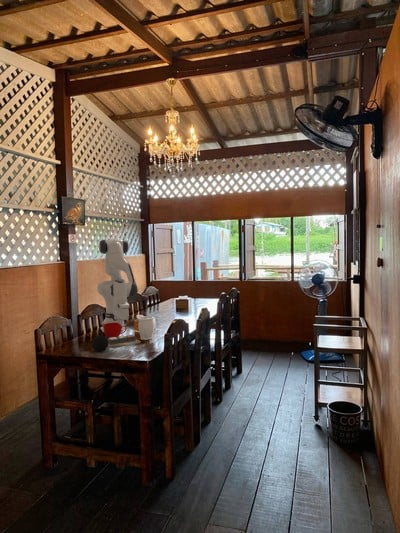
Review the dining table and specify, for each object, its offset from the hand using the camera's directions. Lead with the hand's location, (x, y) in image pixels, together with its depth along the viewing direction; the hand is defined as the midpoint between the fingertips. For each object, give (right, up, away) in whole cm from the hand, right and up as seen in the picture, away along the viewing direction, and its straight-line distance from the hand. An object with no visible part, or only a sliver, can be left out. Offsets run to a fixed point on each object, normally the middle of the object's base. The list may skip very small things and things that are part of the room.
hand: (120, 324), depth 260 cm
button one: (-4, -12, -3) cm, 13 cm away
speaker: (-9, -15, -17) cm, 24 cm away
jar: (+15, -12, +13) cm, 24 cm away
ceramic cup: (-7, -13, +17) cm, 22 cm away
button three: (+6, -11, +3) cm, 13 cm away
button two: (+1, -11, 0) cm, 11 cm away
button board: (+1, -13, 0) cm, 13 cm away
